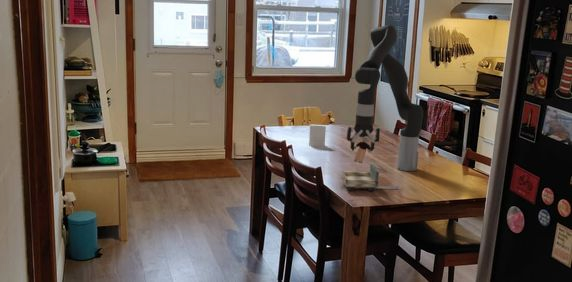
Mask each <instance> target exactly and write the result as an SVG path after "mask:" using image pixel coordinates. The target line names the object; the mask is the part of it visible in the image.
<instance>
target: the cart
mask: <svg viewBox="0 0 572 282" xmlns="http://www.w3.org/2000/svg"><path fill="white" fill-rule="evenodd" d="M379 173H380V171H379V170H378V168H377V167H376V166H375V165H374V163H370V167H369V171H368V172H367V171H341V180H342V182H343V185H345V186H346V187H347V188H346V189H347V190H348V191H349V192H354V191H355V190H356V188H355V187H368V189H367V190H368V191H369V192H371V193H372V192H373V193H374V192H375V190H376V189H375V187H378V186H379V177H380V174H379Z"/></svg>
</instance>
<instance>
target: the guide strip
mask: <svg viewBox="0 0 572 282" xmlns="http://www.w3.org/2000/svg"><path fill="white" fill-rule="evenodd" d="M339 187H340V188H341V189H348V188H347V187H346V186H345V184H343V185H342V184H340V185H339ZM355 189H365V190H368V187H355ZM376 189H377V190H400V188H399V187H398V186H386V185H385V186H384V185H382V186H381V185H380V186H379V185H378V187H375V190H376Z"/></svg>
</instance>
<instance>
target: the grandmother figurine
mask: <svg viewBox="0 0 572 282" xmlns="http://www.w3.org/2000/svg"><path fill="white" fill-rule="evenodd" d="M361 138H362V141H358V142H357V144H355V145H354V150H357V151H356V153H355V156H354V158H353V160H352V161H353V162H355V163H359V164H363V161H364V159H365V154H366V151H368V152H367V153H371V152H372V151H370V149H371V148H370V146H371V145H369V144H368V142H369V141H371V140H370V138H369V136H365V137H361Z"/></svg>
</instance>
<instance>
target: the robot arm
mask: <svg viewBox="0 0 572 282" xmlns="http://www.w3.org/2000/svg"><path fill="white" fill-rule="evenodd" d="M369 36H370V41H371V44H372V45H373V48H372V50H370V51H369V53H368V54H367V57H366V59H365V61H364V62H363V63H362V64H360V66H359V67H357V69H356V71H355V73H354V78H355V82H356V83H358V84H360V85H369V86H370V87H368V88H365V89H364V88H363V89H360V90H358V93H357V104H356V109H355V111H356V113H355V125H354V126H350V125H348V126H347V132H346V140H347V141H348V142H350V145H349V146H350V147H349V148H350V149H351V150H352V151H355V149H354V147H355V145H356V144H355V141H356V140H357V139H358V138H363V137H365V136H369V138H370V140H369V141H370V145H369V146H370V148H371V149H370V151H371V152H373V151H374V150H375V146H376V145H375V143H378V142H379V141H380V132H381V131H380V129H381V128H379V126H376V127H373V125H374V116H375V115H374V114H375V106H374V104H375V94H376V90H377V88H378V86H379V81H380V79H381V71H380V69H381V66H382V67H383V70H384V73H385V76H386V79H387V81H388V84H389V86H390V89H391V92H392V95H393V98H394V100H395V104H396V108H397V112H398V115H399V117H400V118H401V119H402V121H405V122H406V126H405V127H403V128H401V129H400V131H399V132H400V133H399V145H398V156H397V166H396V167H397V170H400V171H404V172H414V171H418V166H419V165H418V163H419V142H420V140H419V139H420V138H419V137H420V133H421V131H422V128H423V120H424V110H423V109H424V108H423V107H422V106H421V105H420V104H416V103H413V102H411V100H410V98H409V94H408V85H409V77H408V75H407V71H406V68H405V66H404V65H403V64H402V63H401V62H400V61H399V60H398V59H396V58H395V57H394V56H392V55H391V54H390V53H389V52H390V51H391V49H392V47H394V46H395V43H396V42H397V37H398V34H397V30H396V27H395V26H394V25H392V24H387V25H383V26H378V27H374V28H372V29H371V30H370V33H369ZM353 131H354V132H355V133H354V134H353V135H352V133H353ZM373 131H374V133H375V136H374V137H375V138H374V137H373V136H372V132H373ZM351 136H352V137H351Z"/></svg>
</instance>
